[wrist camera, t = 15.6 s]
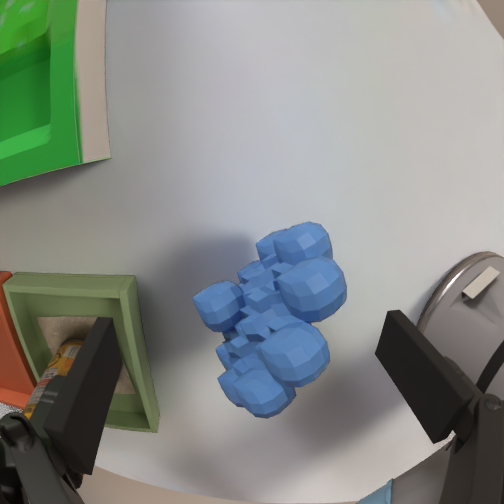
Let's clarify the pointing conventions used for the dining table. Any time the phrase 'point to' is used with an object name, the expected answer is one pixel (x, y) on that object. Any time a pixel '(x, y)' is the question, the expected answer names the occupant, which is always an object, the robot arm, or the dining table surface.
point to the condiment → (68, 362)
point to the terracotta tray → (12, 358)
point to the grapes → (275, 318)
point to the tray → (51, 86)
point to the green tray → (85, 304)
